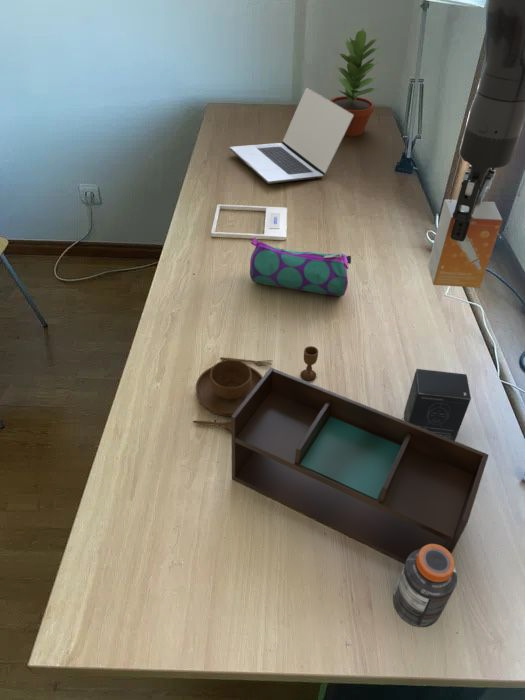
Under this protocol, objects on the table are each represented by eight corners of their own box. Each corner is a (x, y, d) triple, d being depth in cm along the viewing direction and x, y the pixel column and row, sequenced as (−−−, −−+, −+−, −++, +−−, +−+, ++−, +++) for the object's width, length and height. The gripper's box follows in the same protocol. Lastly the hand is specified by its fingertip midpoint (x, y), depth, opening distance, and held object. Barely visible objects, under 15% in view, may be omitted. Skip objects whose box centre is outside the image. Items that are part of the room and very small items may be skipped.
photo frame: (286, 236, 134) (211, 232, 134) (286, 240, 135) (211, 236, 135) (287, 207, 145) (217, 203, 145) (286, 210, 146) (217, 207, 146)
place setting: (209, 354, 104) (208, 330, 100) (317, 369, 102) (320, 344, 98) (184, 426, 91) (181, 401, 87) (307, 444, 89) (310, 419, 85)
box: (450, 418, 94) (467, 373, 87) (453, 445, 90) (472, 399, 82) (402, 412, 94) (416, 366, 87) (403, 438, 90) (418, 392, 83)
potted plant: (331, 139, 183) (343, 36, 163) (323, 122, 194) (333, 24, 174) (376, 139, 184) (393, 37, 164) (365, 122, 195) (380, 25, 175)
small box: (432, 286, 95) (450, 216, 87) (427, 266, 100) (443, 198, 92) (481, 289, 95) (503, 219, 86) (473, 268, 100) (494, 200, 91)
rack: (459, 515, 80) (488, 454, 71) (438, 580, 73) (467, 522, 63) (267, 430, 91) (270, 367, 81) (231, 479, 83) (231, 416, 74)
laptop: (229, 150, 170) (233, 88, 159) (298, 144, 180) (306, 86, 169) (267, 185, 153) (275, 119, 142) (341, 176, 163) (354, 114, 152)
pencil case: (347, 281, 123) (354, 243, 116) (344, 305, 116) (350, 266, 110) (254, 268, 125) (255, 230, 119) (245, 291, 119) (246, 251, 112)
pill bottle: (435, 582, 73) (458, 536, 65) (444, 630, 68) (470, 586, 61) (389, 580, 73) (406, 533, 65) (395, 627, 68) (415, 583, 61)
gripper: (510, 149, 75) (477, 254, 85) (529, 117, 84) (496, 215, 95) (454, 137, 77) (428, 241, 88) (478, 107, 87) (452, 204, 97)
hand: (464, 227), depth 91 cm, fingers closed on small box, 8 cm apart
